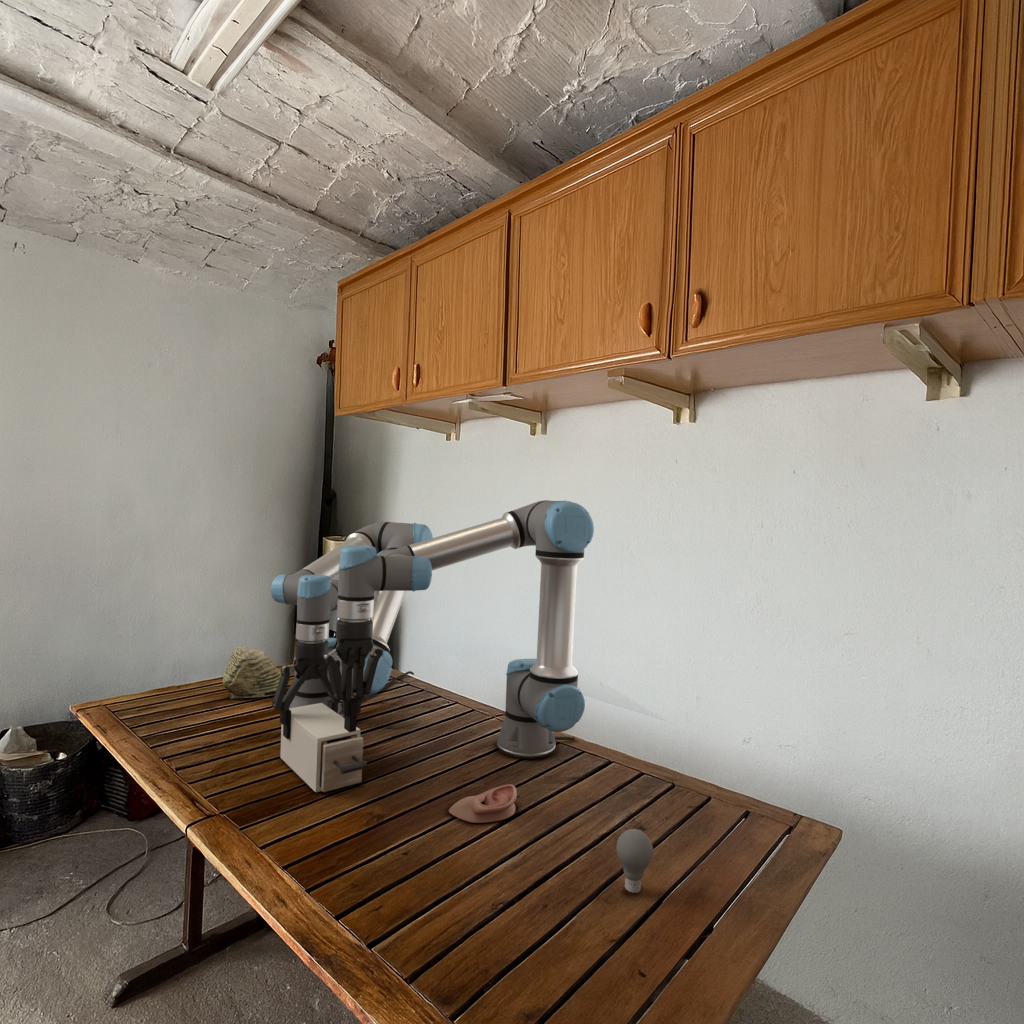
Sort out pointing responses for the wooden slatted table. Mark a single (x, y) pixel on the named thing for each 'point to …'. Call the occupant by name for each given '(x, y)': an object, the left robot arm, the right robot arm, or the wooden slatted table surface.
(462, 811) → the anatomical model
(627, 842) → the light bulb
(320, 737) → the cabinet
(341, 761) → the drawer
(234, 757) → the wooden slatted table surface
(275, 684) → the fossil
